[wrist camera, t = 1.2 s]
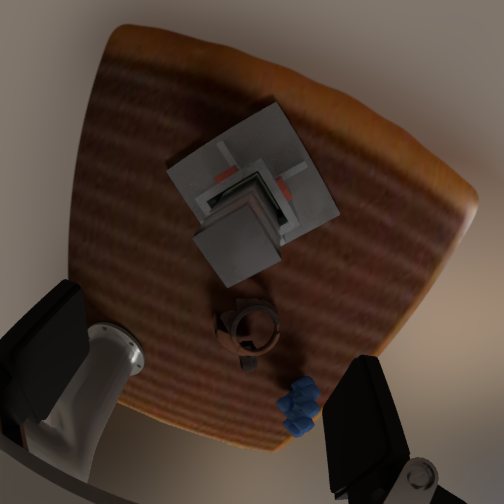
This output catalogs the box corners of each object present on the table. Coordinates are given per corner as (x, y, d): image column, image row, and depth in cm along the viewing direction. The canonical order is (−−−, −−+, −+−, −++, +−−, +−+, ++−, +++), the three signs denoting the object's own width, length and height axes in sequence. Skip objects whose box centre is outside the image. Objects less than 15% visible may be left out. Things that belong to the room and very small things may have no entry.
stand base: (234, 268, 41) (222, 313, 31) (168, 170, 36) (132, 185, 26) (338, 212, 37) (363, 242, 27) (276, 102, 32) (278, 88, 22)
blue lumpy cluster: (287, 354, 46) (289, 411, 35) (324, 362, 47) (333, 416, 36) (266, 396, 51) (264, 447, 40) (299, 401, 51) (302, 452, 40)
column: (247, 214, 36) (226, 291, 19) (228, 185, 35) (188, 237, 18) (277, 197, 35) (285, 260, 18) (259, 167, 34) (248, 201, 17)
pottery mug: (203, 296, 43) (216, 309, 36) (260, 282, 47) (284, 291, 39) (218, 365, 45) (234, 389, 37) (271, 349, 48) (294, 368, 40)
